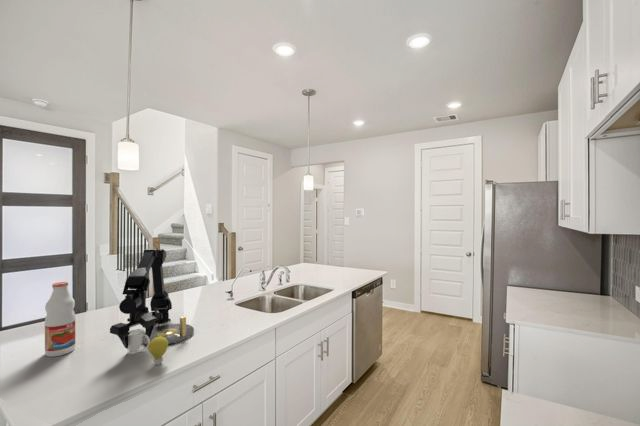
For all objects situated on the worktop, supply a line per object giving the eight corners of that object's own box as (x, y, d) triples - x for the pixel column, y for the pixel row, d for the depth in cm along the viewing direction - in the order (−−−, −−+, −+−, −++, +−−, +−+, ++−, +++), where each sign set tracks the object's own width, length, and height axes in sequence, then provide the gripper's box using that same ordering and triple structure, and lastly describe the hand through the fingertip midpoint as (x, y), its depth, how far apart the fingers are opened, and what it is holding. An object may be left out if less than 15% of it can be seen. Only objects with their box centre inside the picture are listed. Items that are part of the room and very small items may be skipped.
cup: (131, 347, 126) (131, 328, 126) (154, 348, 126) (154, 329, 126) (119, 355, 119) (119, 335, 119) (143, 356, 119) (143, 336, 119)
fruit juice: (65, 345, 128) (65, 279, 127) (81, 348, 125) (81, 281, 124) (38, 355, 119) (38, 284, 118) (55, 359, 116) (55, 286, 116)
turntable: (128, 339, 132) (128, 318, 132) (171, 322, 152) (171, 304, 152) (163, 349, 123) (163, 326, 123) (204, 330, 144) (204, 310, 144)
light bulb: (172, 360, 115) (172, 335, 115) (157, 369, 109) (157, 342, 109) (159, 357, 118) (159, 332, 117) (143, 366, 111) (144, 339, 111)
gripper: (128, 315, 111) (128, 357, 111) (171, 301, 128) (171, 338, 128) (109, 311, 115) (109, 351, 115) (153, 298, 132) (153, 333, 132)
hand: (137, 343), depth 123 cm, fingers open, 9 cm apart
